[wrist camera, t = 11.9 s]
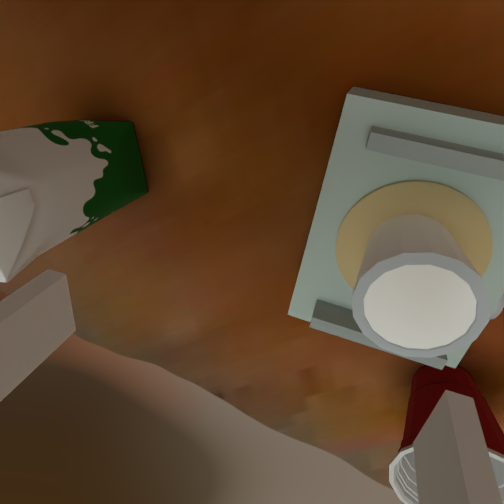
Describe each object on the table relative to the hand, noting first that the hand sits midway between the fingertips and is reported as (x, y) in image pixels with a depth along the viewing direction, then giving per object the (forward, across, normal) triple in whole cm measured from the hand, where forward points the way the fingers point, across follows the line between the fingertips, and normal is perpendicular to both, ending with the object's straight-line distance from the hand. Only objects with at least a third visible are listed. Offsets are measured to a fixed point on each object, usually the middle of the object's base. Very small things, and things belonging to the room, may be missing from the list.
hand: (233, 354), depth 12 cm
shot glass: (+16, +8, -2) cm, 18 cm away
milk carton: (+24, -21, -4) cm, 32 cm away
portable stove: (+23, +8, -2) cm, 25 cm away
